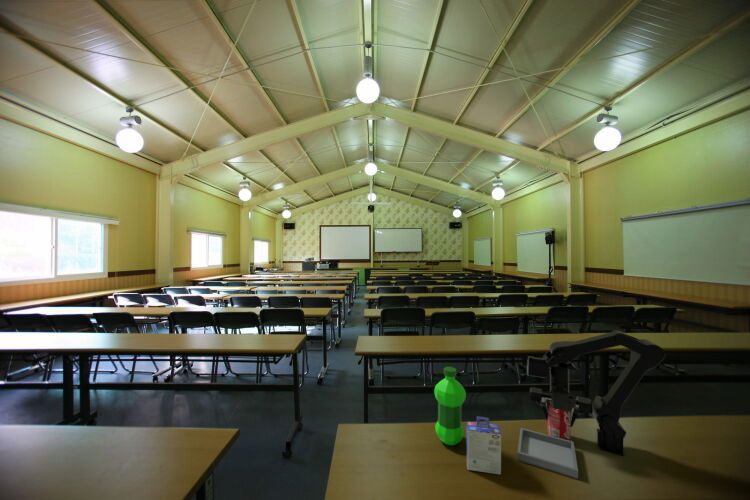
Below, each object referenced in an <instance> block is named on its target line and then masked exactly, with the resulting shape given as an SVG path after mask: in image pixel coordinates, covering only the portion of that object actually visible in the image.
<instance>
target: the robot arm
mask: <svg viewBox="0 0 750 500" xmlns="http://www.w3.org/2000/svg"><path fill="white" fill-rule="evenodd" d="M619 346H622V347H624V348H625V349H628V350H630V354H629V355H630V356H629V362H628V363H627V364H626V366H625V368H624V369H623V371H622V372H621V373H620V375H619V376H618V378H617V379H616V381H615V382H614V384H612V387H610V389H609V391H608V393H607V394H606V395H604V396H602V397H601V396H599V395H596V396H595V397H594V400H593V401H592V400H591V399H590V398H588V397H584V396H578V395H577V396H574V395H571V394H570V370H571V371H576V370H577V368H576V366H575V364H573V363H572V361H574V360H576V359H577V358H579V357H580V356H582V355H585V354H589V353H593V352H597V351H602V350H607V349H610V348H614V347H619ZM665 357H666V354H665V350H664V349H663V348H662V347H661V346H659V345H657V344H656V343H655V342H653V341H651V340H649V339H645V338H643V339H640V338H638V337H635V336H633V335H629V334H626V333H625V332H622V331H621V330H612V331H610V332H606V333H603V334H599V335H596V336H592V337H591V336H590V337H588V338H584V339H580V340H574V341H573V340H572V341H570V340H567V341H566V340H561V341H555V342H552V343H550V346H549V349H548V351H547V352H545V354H544V355H543V356H542V357H536V356H532V355H528V356H527V361H526V375H527V376H529V377H537V378H542V379H546V378H548V376H549V393H546V392H543V389H542V388H539V387H535V386H532V387H530V388H529V400H530V401H532V402H536V404H537V405H540V406H541V409H542V411H543V413H544V416H545V419H546V421H548V405H547V400H548V401H551V400H552V407H553V408H554V409H560V410H564V411H568V410H569V409H571V411H570V412H571V419H572V420H571V428H572V427H573V426H574V424H575V422H576V420H577V418H578V416H579V415H581V414H582V415H584V414H585V413H587V414H592V416H593V417H594V419H595V421H596V422H597V424H598V428H596V432H595V433H596V443H597V445H598V447H599V450H600V451H604V452H608V453H612V454H615V455H619V456H623V457H624V456H625V454H626V453H625V451H624V438H625V437H626V435H627V431H626V430H625V429H624V427H623V426H622V424H621V423H620V419H621V414H622V413H621V412H622V407H623V405H624V404H625V402H626V401H627V399H628V398H629V396H631V394H632V392H634V390H635V388H636V386H637V385H638V384H639V383H640V381H641V380H642V378H643V377H644V375H645V374H646V372H648V371H650V370H653V369H654V368H656V367H657V366H658V365H659V364H660V363H661V362H663V361H664V359H665Z"/></svg>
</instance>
